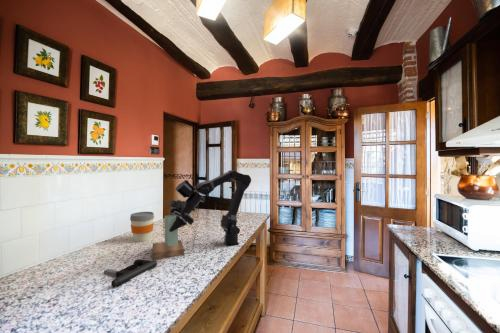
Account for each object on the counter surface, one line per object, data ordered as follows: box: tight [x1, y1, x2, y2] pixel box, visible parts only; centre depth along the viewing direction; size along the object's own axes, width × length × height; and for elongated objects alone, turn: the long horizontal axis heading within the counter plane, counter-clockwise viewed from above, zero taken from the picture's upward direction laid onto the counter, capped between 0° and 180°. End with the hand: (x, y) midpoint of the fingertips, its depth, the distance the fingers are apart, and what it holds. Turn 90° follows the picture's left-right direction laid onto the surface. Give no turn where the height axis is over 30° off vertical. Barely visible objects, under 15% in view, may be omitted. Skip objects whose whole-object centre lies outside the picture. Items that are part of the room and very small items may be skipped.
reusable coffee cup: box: [129, 211, 155, 243], centre depth 138 cm, size 13×13×15 cm
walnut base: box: [152, 239, 185, 260], centre depth 119 cm, size 14×14×3 cm
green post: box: [164, 214, 179, 246], centre depth 111 cm, size 4×4×13 cm
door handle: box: [103, 258, 158, 288], centre depth 97 cm, size 3×20×16 cm
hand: (168, 230), depth 110 cm, fingers closed on green post, 4 cm apart
